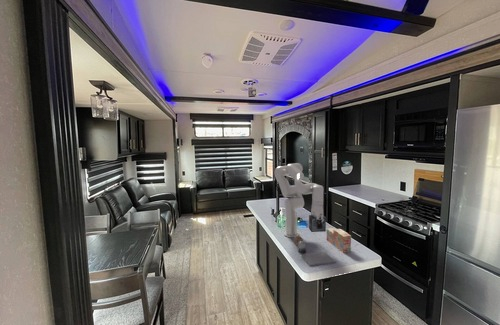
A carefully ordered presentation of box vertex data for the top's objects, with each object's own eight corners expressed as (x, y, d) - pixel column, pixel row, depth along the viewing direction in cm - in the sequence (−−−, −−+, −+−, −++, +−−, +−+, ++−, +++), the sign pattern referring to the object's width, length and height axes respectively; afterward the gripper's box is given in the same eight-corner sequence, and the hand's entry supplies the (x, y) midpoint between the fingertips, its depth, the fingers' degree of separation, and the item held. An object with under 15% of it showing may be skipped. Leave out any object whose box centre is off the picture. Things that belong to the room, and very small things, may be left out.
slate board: (301, 255, 151) (301, 254, 151) (325, 252, 154) (325, 251, 154) (309, 266, 138) (309, 264, 138) (335, 262, 142) (335, 261, 141)
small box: (322, 227, 162) (323, 214, 160) (326, 231, 155) (326, 217, 154) (308, 228, 161) (308, 214, 160) (311, 232, 155) (311, 217, 154)
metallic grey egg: (297, 250, 159) (297, 241, 158) (303, 249, 160) (303, 240, 159) (300, 253, 154) (300, 244, 153) (307, 252, 155) (306, 243, 154)
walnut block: (294, 243, 170) (294, 237, 170) (300, 242, 171) (300, 236, 171) (296, 246, 165) (296, 239, 165) (303, 245, 166) (303, 239, 166)
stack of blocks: (326, 239, 175) (326, 225, 174) (333, 238, 176) (333, 224, 175) (343, 253, 154) (343, 236, 153) (350, 251, 155) (351, 235, 154)
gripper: (307, 199, 164) (307, 222, 166) (318, 206, 147) (318, 231, 149) (316, 198, 165) (316, 221, 167) (328, 205, 148) (328, 231, 150)
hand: (317, 226), depth 158 cm, fingers closed on small box, 6 cm apart
